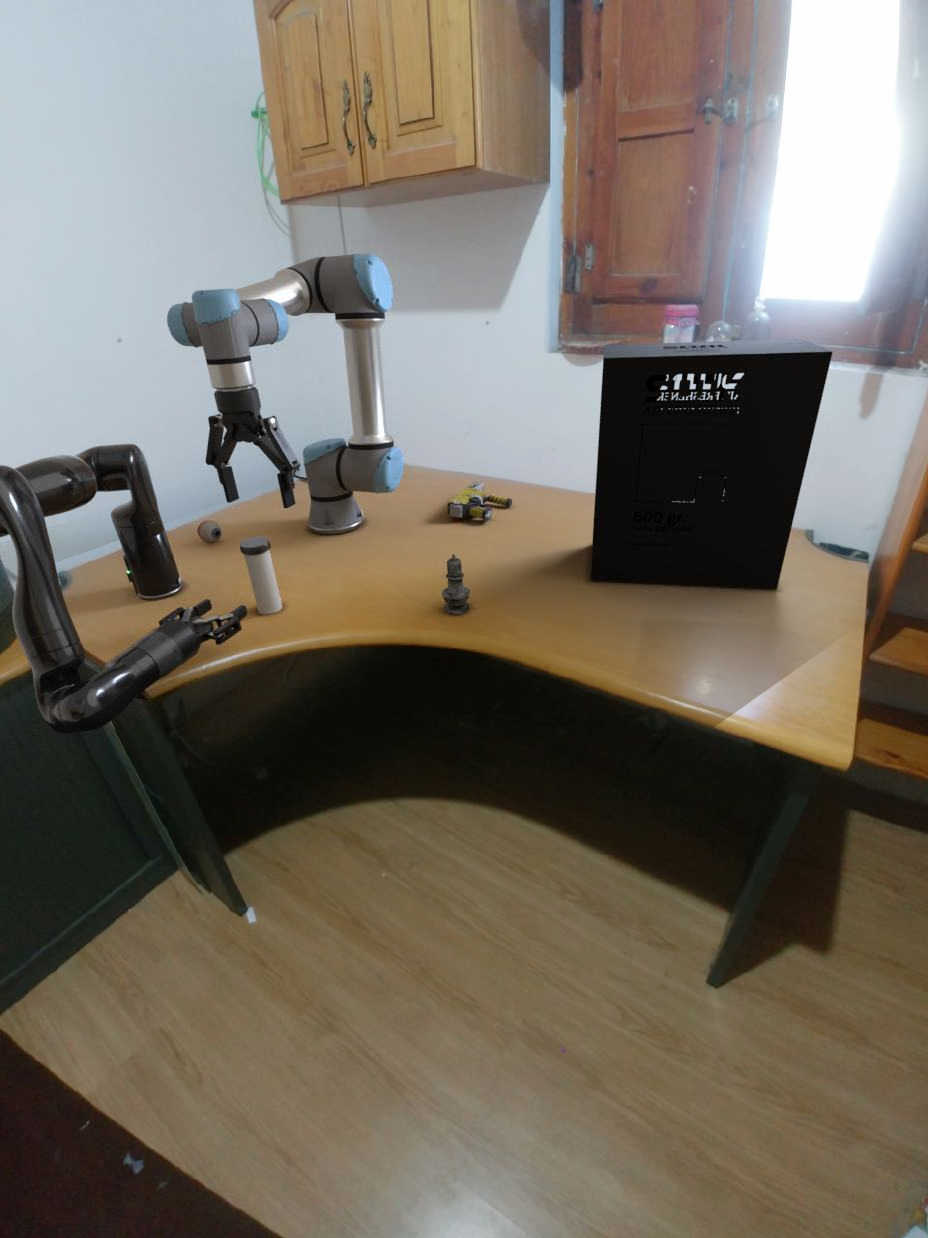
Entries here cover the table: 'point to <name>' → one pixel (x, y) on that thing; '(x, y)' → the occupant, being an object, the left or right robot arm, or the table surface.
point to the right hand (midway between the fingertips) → (261, 503)
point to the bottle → (264, 582)
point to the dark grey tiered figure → (455, 588)
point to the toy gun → (474, 503)
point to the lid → (255, 545)
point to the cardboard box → (703, 460)
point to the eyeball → (209, 531)
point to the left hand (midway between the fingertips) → (227, 606)
